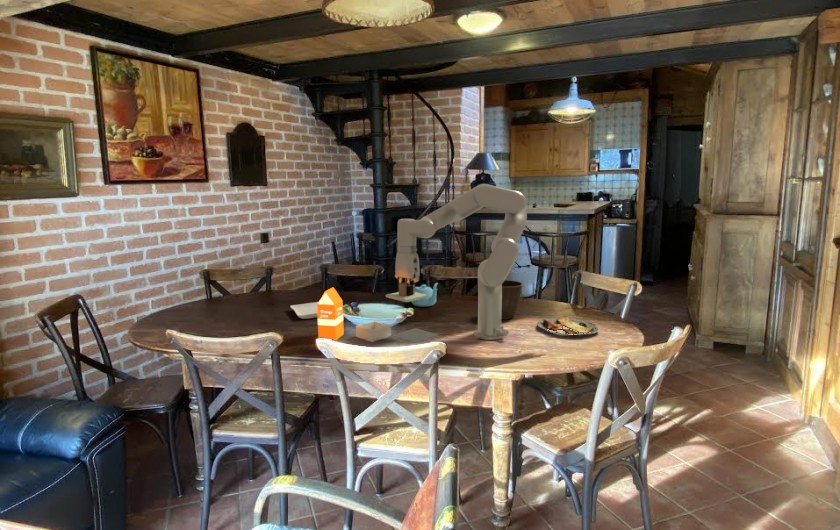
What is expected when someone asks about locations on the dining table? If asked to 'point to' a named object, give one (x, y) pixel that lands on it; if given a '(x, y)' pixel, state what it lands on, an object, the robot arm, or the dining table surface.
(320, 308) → the orange juice
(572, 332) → the food plate
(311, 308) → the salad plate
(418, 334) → the mat
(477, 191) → the robot arm
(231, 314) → the dining table surface
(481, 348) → the dining table surface
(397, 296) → the lid
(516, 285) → the plant pot
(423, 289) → the teapot
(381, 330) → the open tan box
